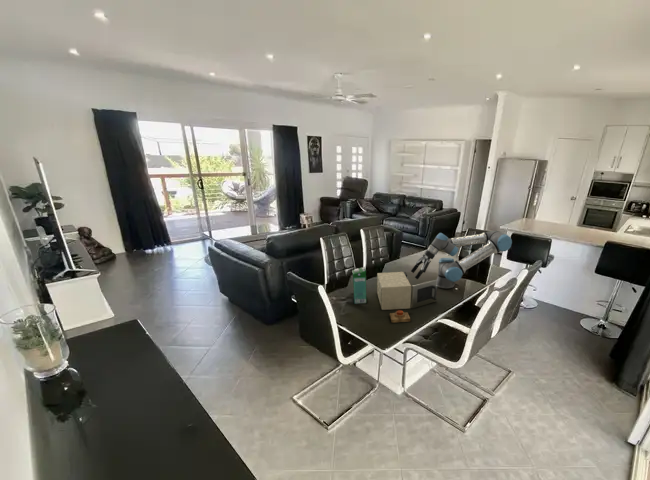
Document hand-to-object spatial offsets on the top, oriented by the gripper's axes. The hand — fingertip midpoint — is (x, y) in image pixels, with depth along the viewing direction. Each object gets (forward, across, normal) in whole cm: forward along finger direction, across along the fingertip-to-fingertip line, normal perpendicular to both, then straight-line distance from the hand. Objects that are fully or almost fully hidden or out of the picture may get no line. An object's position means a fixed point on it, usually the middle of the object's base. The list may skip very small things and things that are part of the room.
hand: (414, 275), depth 240 cm
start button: (+20, +37, -7) cm, 43 cm away
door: (+10, +21, +12) cm, 26 cm away
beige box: (+22, +9, -4) cm, 24 cm away
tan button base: (+23, +37, -5) cm, 44 cm away
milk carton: (+37, +6, -24) cm, 45 cm away
